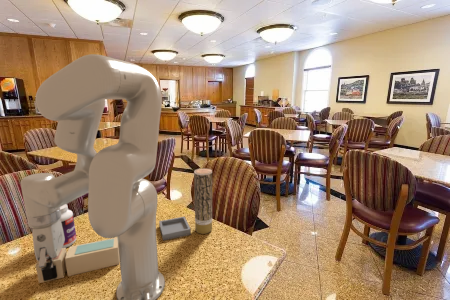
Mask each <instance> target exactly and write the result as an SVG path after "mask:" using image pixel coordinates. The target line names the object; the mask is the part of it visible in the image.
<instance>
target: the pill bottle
mask: <svg viewBox="0 0 450 300" xmlns="http://www.w3.org/2000/svg"><path fill="white" fill-rule="evenodd" d="M60 211H61V223H62V227H63V232H64V237H65V241H64V244H63V246H62V248H66V249H67V248H69V247H70V246H73V244H74V243H75V242H76V241H77V233H76V225H75V218H74V213H73V211H72V210H71V209H69V208H68V203H67V204H65V205H63V206H61V207H60Z"/></svg>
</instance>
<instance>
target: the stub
mask: <svg viewBox="0 0 450 300" xmlns="http://www.w3.org/2000/svg"><path fill="white" fill-rule="evenodd" d="M67 252H68V251H67V247H66V248H62V249H61V251H60V253H59V255H58V256H57V257H56V258H54V265H56V271H57V278H56V279H51V280H47V281H44V280H43V275H42V270H41V268H39V261H37V260H36V263H35V270H36V275H37V281H38V284H40V283H45V282H50V281H55V280H57V279H62V278H65V275H66V272H67V268H66V261H65V257H66V255H67ZM47 257H49V255H47ZM46 262H47V263H50V259H48V260H46Z"/></svg>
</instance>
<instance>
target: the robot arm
mask: <svg viewBox="0 0 450 300" xmlns="http://www.w3.org/2000/svg"><path fill="white" fill-rule="evenodd" d="M106 100H125V101H126V106H125V108H124V111H123V113H122V114H121V115H122V116H121V120H120V126H119V127H120V129H119V138H118V142H117V143H116V144H113V145H107V146H106V147H104V148H102V149H100V150H99V151H98V152H97V151H96V149H95V147H94V146H95V143H96V138H97V134H98V131H99V128H100V124H101V121H102V116H103V112H104V110H105V107H106V106H105V104H106ZM162 104H163V98H162V90H161V87H160V85H159V83H158V80H157V79H156V78H155V77H154V75H153V74H152V73H150V71H148V70H147V69H146V68H145V67H142V66H140V65H138V64H136V63H133V62H131V61H130V62H129V61H127V60H122V59H117V58H113V57H110V56H107V55H102V54H94V53H93V54H91V53H90V54H86V55H83V56H79V58H77V59H75V60H73V61H72V62H70V63H69V64H67V65H65V66H64V67H63V68H61V69H59V70H58V71H55V72H54V73H53V74H52V75H50V76H49V77H48V78H46V79H45V80H44V81H42V83H41V84H40V85H39V87H38V89H37V91H36V94H35V105H36V109H37V111H38V112H39V113H40V115H41V116H43V118H45V119H47V120H49V121H55V122H57V126H56V130H55V134H54V141H53V142H54V144H55V145H56V147H57V148H59V149H61V150H62V151H65V152H68V153H71V154H74V155H75V154H76V155H77V156H76V158H77V159H76V163H75V167H74V169H73V171H71V172H67V173H64V174H62V175H58V176H57V177H55V175H54V174H53V173H49V172H41V173H34V174H29V175H28V176H27V175H26V176H25V177H23V178H22V179H21V181H20V187H21V194H22V199H23V204H24V209H25V213H26V214H25V215H26V219H27V225H28V227H29V228H30V229H32V241H33V242H32V243H33V244H32V245H33V251H34V256H35V259H36V262H37V261H39V268H41V270H42V275H43V280H44V281H46V282H48V281H47V280H50V281H52V280H51V279H54V280H57V279H56V278H57V271H56V265H54V258H56V257H57V256H58V255H59V253H60V251H61V249H62V246H63V244H64V241H65V237H64V232H63V227H62V223H61V211H60V207H61V206H63V205H65V204H67V205H68V204H69V203H71V202H72V201H74V200H76V199H78V198H80V197H82V196H85V195H86V194H88V196H87V197H88V198H87V214H88V215H87V217H88V220H89V224H90V226H91V228H92V229H93V231H94V232H95V233H96V234H97V235H98V236H99V237H102V238H106V239H111V238H116V237H117V238H118V249H119V259H120V262H119V268H120V269H119V270H120V276H121V277H120V278H121V281H120V282H119V283H118V286H117V288H116V293H115V294H116V300H157V299H158V298H159V297H160V295H161V294H163V291H164V289H165V285H166V281H165V277H164V275H163V274H162V273H161V272H160V271H159V263H158V262H159V260H158V259H159V258H158V245H157V210H158V192H157V189H156V187H155V186H154V184H153V183H152V182H151V181H149V180H148V179H145V177H147V176H149V175H150V174H151V173H152V172H153V171H154V170H155V168H156V163H157V152H158V144H159V143H158V142H159V135H160V133H159V132H160V122H161V121H160V120H161V114H162ZM47 255H49V257H47ZM48 259H50V263H47V262H46V260H48Z"/></svg>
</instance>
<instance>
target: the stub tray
mask: <svg viewBox="0 0 450 300" xmlns="http://www.w3.org/2000/svg"><path fill="white" fill-rule="evenodd" d="M158 224H159V225H158V226H159V229H160V230H159V231H160V234H161V238H162V241H167V240H172V239H177V238H181V237H186V236H191V235H192V230H191V229H192V228H191V226H190V225H189V222H188V221H187V218H186V217H185V216H180V217H174V218H170V219H164V220H159V222H158Z"/></svg>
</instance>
